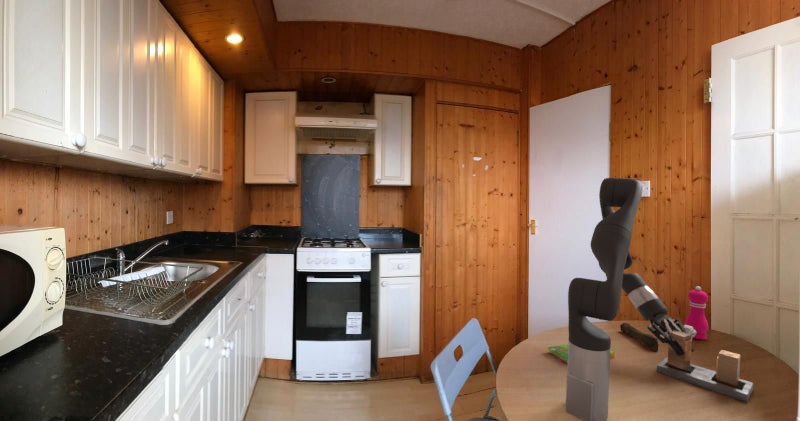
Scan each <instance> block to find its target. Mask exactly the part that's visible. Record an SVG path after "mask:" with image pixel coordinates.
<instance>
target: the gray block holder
mask: <svg viewBox="0 0 800 421" xmlns="http://www.w3.org/2000/svg"><path fill="white" fill-rule="evenodd" d="M715 367H716V368H715V370H712V369H710V368H706V367H702V366H699V365H696V364H693V363H690V367H688V368H685V369H680V368H678V367H675V366H673V365H670V364H668V356H666V357H665V358H663V360H661V361H660V362H659V363H658V364H657V365H656V372H657V373H660V374H663V375H665V374H666V376H668V375H669V377H673V378H675V379H678V380H681V381H683V382H687V383H689V384H692V385H695V386H698V387H701V388H704V389H707V390H710V391H712V392H716V393H719V394H723V395H725V396H728V397H731V398H733V399H737V400H739V401H743V402H745V403H747V402H748V401H749V399H750V396H751V394H752V392H753V390H754V382H751V381H748V380H745V379H741V378H740V372H741V353H740V354H739V353H736V352H731V351H728V350H724V349H721V350H720V351H719V352H718V355H717V357H716V366H715ZM676 368H677V369H676ZM688 371H689V372H688Z"/></svg>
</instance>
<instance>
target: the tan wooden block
mask: <svg viewBox="0 0 800 421" xmlns="http://www.w3.org/2000/svg"><path fill="white" fill-rule="evenodd" d="M672 332H673V333H672V335H673V337H674V338H675V340H676V341H677V342H678V344H679V345H680V346H681V347H682V349H683V350H684V351H685V354H683V355H681V356H678V355H677V354H676V352H675V351H674V350H673V349H672V347H671V346H670V345H669V344H667V345H668V347H667V357H668V364H670V365H673V366H675V367H674V368H676V367H678V368H677V369H679V368H680V369H679V370H682V369H685V368H688V367H690V364H691V360H692V353H691V348H692V347H693V346H692V345H693V343H692V342H693V339H692V340H691V336H692V335H690V334H687V333H684V332H681V331H675V330H673V331H672ZM676 341H675V342H676ZM673 366H672V367H673Z"/></svg>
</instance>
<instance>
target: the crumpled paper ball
mask: <svg viewBox="0 0 800 421" xmlns="http://www.w3.org/2000/svg"><path fill="white" fill-rule="evenodd" d="M682 325H683V324H682ZM683 327H684V328H685V330H686V332H687V334H690V335H692V336H691V340H692V341H693V339H694V338H693V337H694V336H695V335H696V331H695V330H694V328H693V327H692V326H689V325H685V324H684V325H683ZM681 332H682V331H681Z"/></svg>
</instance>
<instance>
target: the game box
mask: <svg viewBox="0 0 800 421" xmlns="http://www.w3.org/2000/svg"><path fill="white" fill-rule="evenodd" d="M545 349H546V350H548V352H549V353H550V354H551V355H554V356H555V357H557V358H559V359H560V360H561V359H562V361H564V362H565V363H566V364H568V344H562V345H561V344H560V345H554V346H548V347H546V348H545ZM611 359H615V351H612V350H611V349H610V360H611Z"/></svg>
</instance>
